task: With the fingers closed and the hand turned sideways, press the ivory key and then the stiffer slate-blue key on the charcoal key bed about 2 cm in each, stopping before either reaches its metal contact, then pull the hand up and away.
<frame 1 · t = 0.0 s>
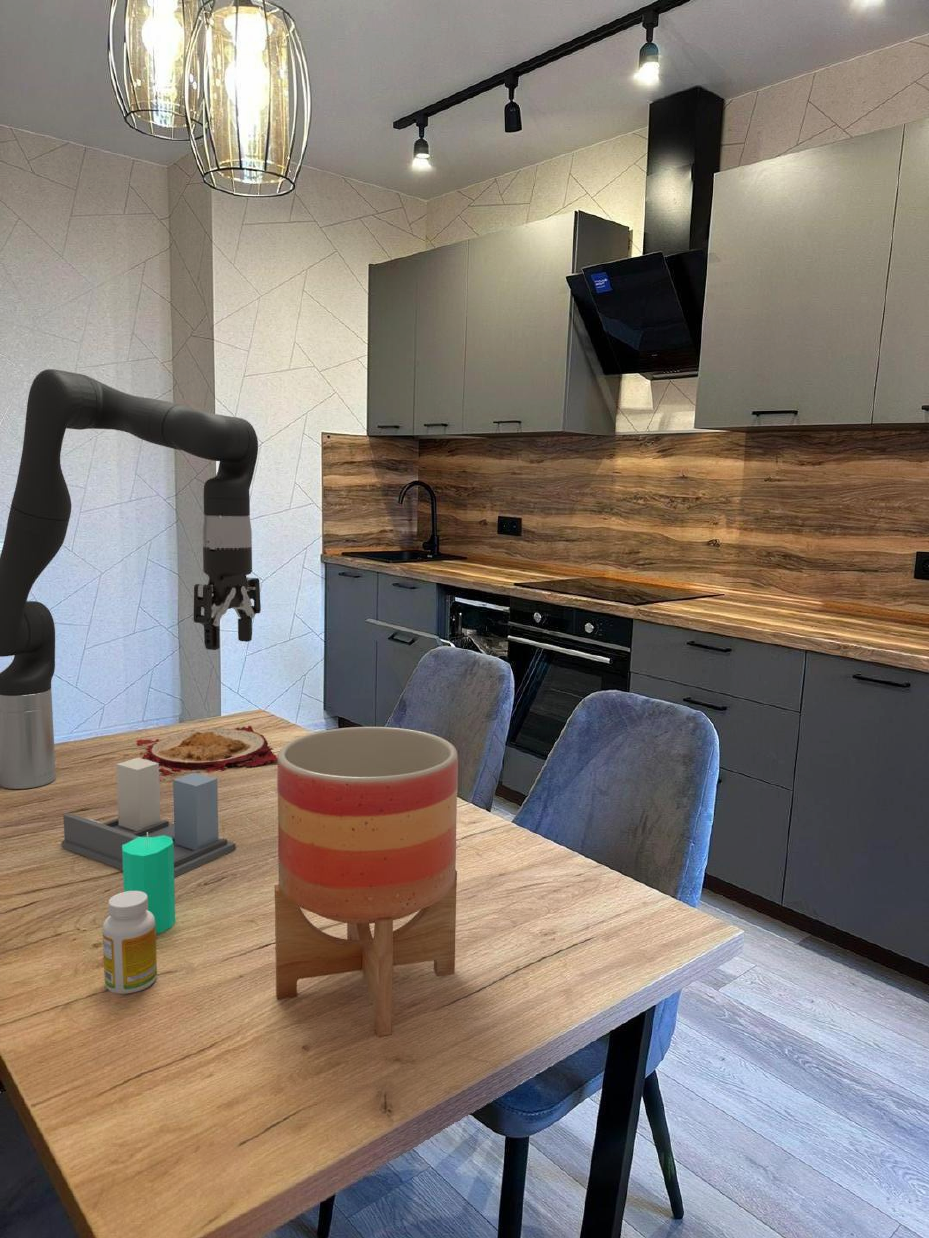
hand: (229, 645, 138), 29 cm above the table, tool pointing down, fingers open, 8 cm apart
plate with food: (205, 756, 177), on the table
slate blue key: (195, 811, 128), point 6 cm above the table, slide at 0.0 cm
ivory key: (138, 794, 135), point 6 cm above the table, slide at 0.0 cm
planter: (367, 984, 95), on the table
supplement bottle: (131, 982, 94), on the table
candle: (150, 924, 107), on the table
key bed: (148, 848, 129), on the table
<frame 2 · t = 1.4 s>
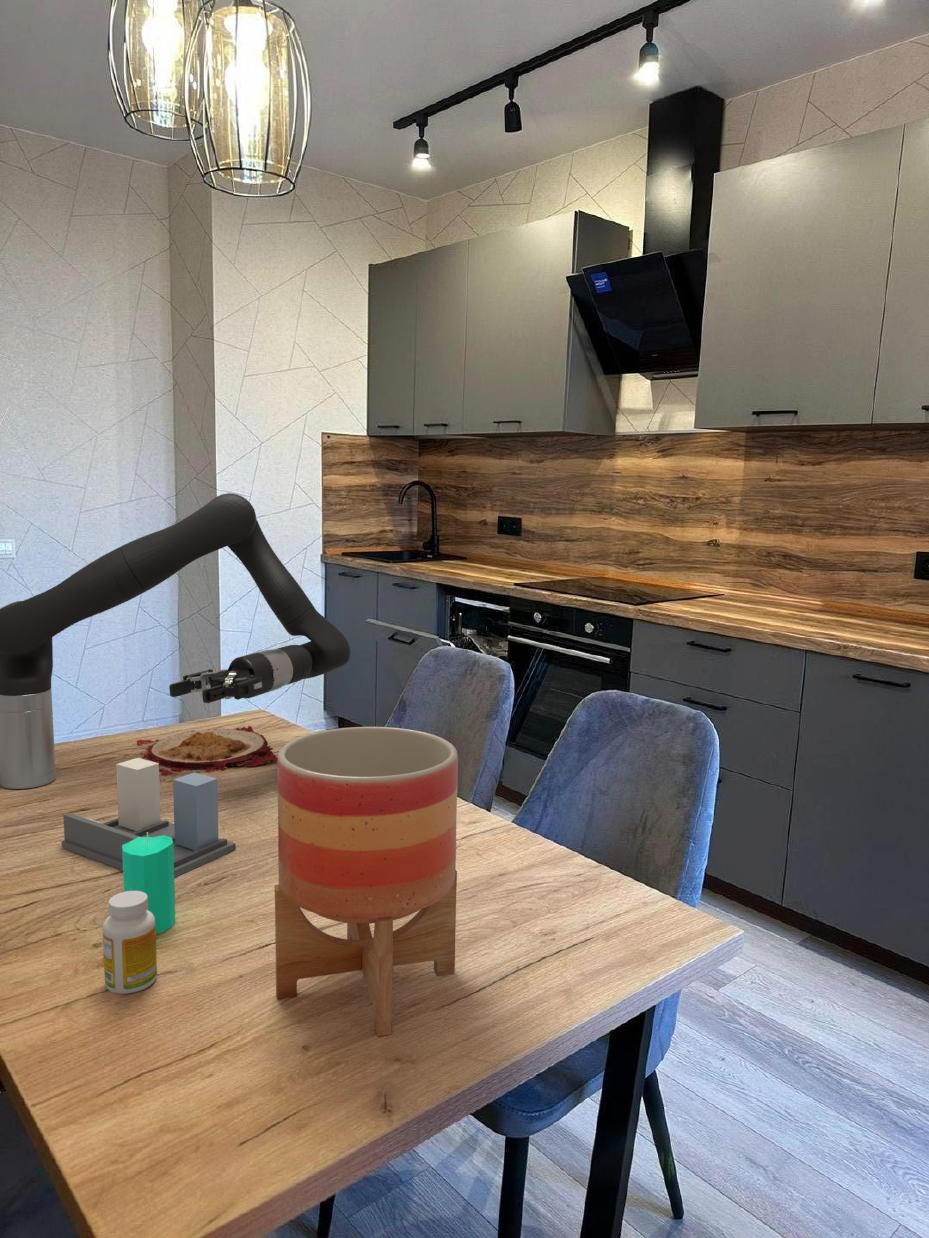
hand: (187, 694, 141), 20 cm above the table, tool horizontal, fingers open, 8 cm apart
nothing on the table moved.
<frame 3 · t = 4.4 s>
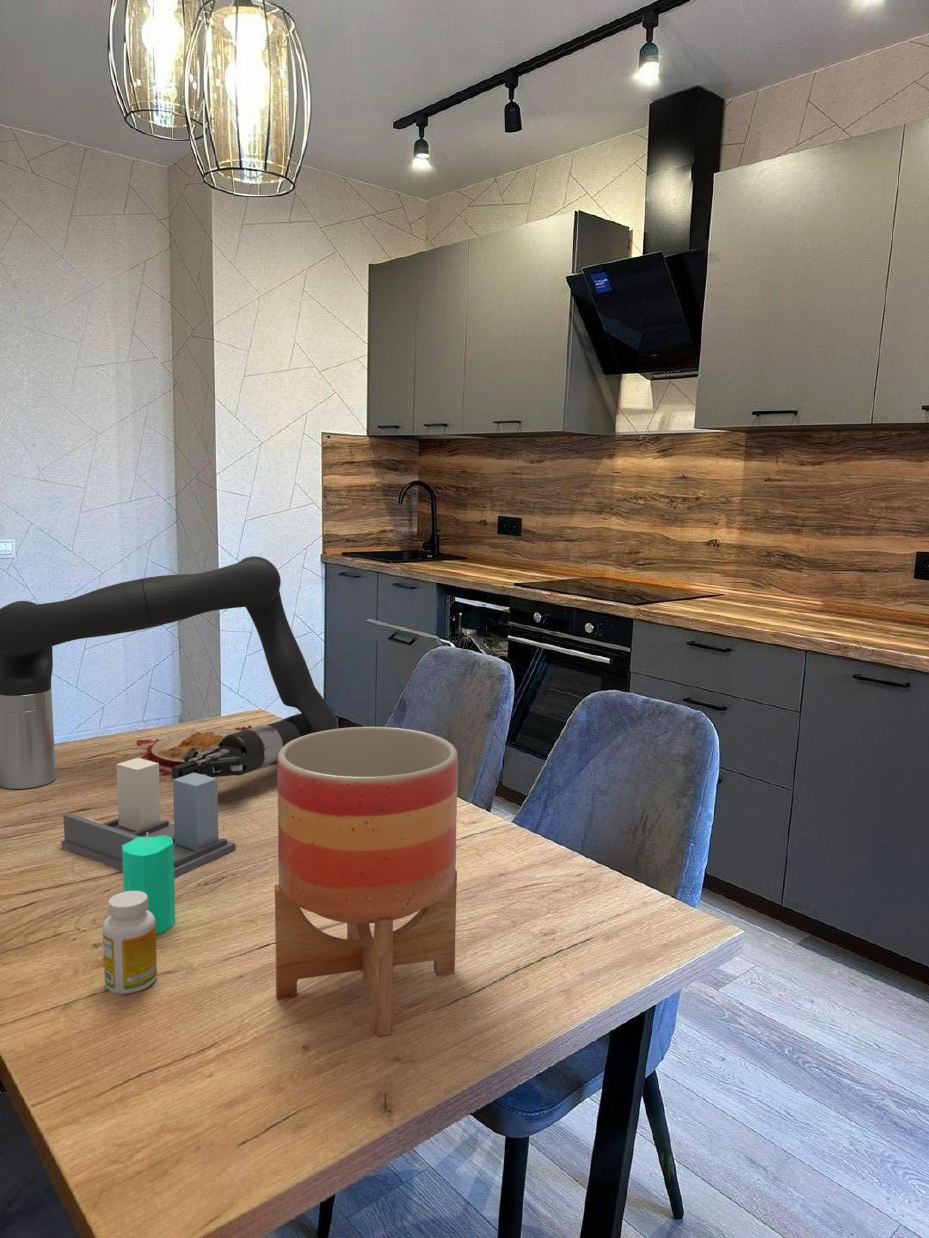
hand: (175, 774, 141), 7 cm above the table, tool horizontal, fingers closed
nothing on the table moved.
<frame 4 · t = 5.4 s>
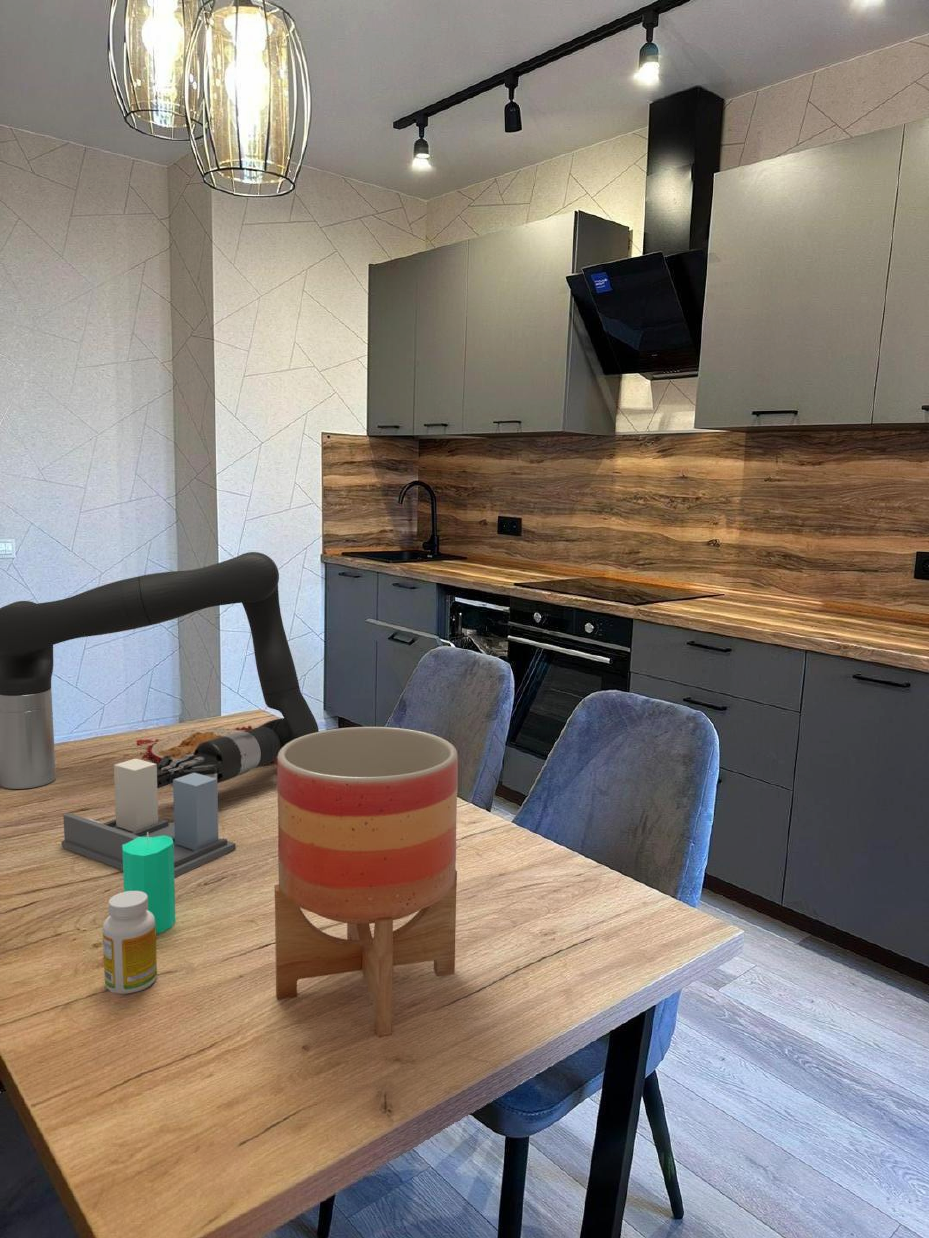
hand: (146, 783, 136), 7 cm above the table, tool horizontal, fingers closed
ivory key: (136, 795, 134), point 6 cm above the table, slide at 0.5 cm, touching gripper
everything else where it was.
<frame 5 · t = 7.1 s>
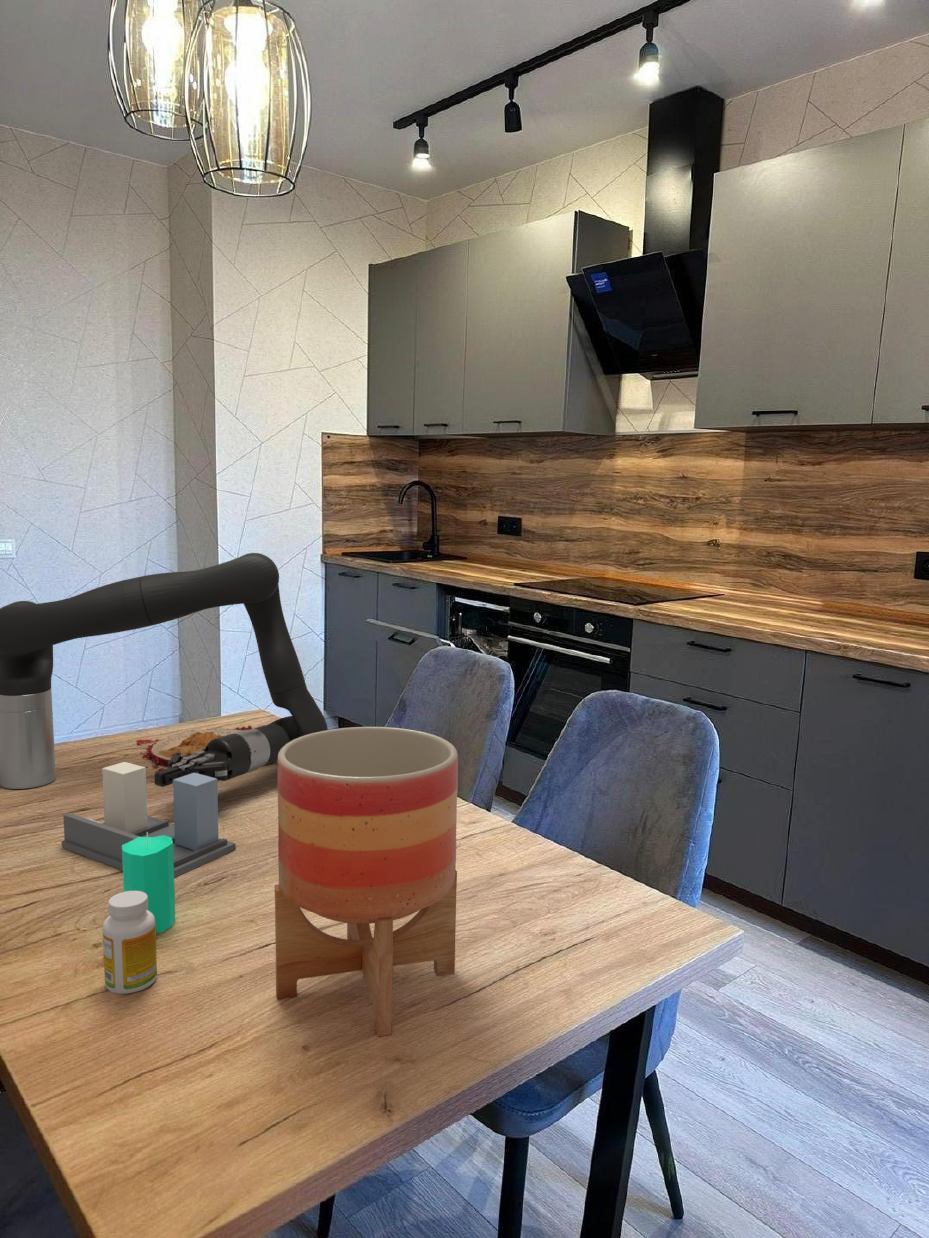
hand: (157, 780, 137), 8 cm above the table, tool horizontal, fingers closed
ivory key: (125, 798, 132), point 6 cm above the table, slide at 2.5 cm
everything else where it was.
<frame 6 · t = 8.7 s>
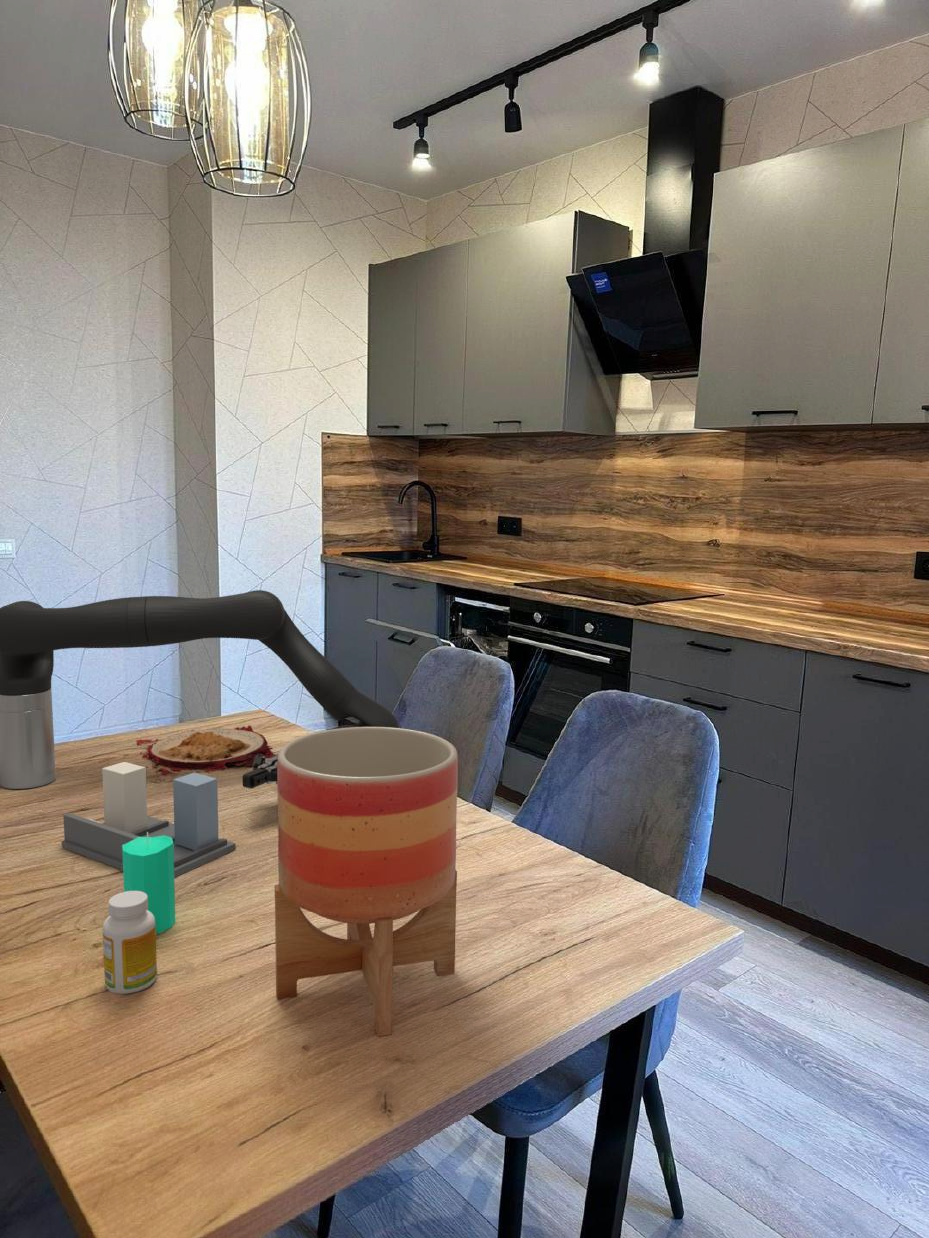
hand: (246, 781, 137), 8 cm above the table, tool horizontal, fingers closed
nothing on the table moved.
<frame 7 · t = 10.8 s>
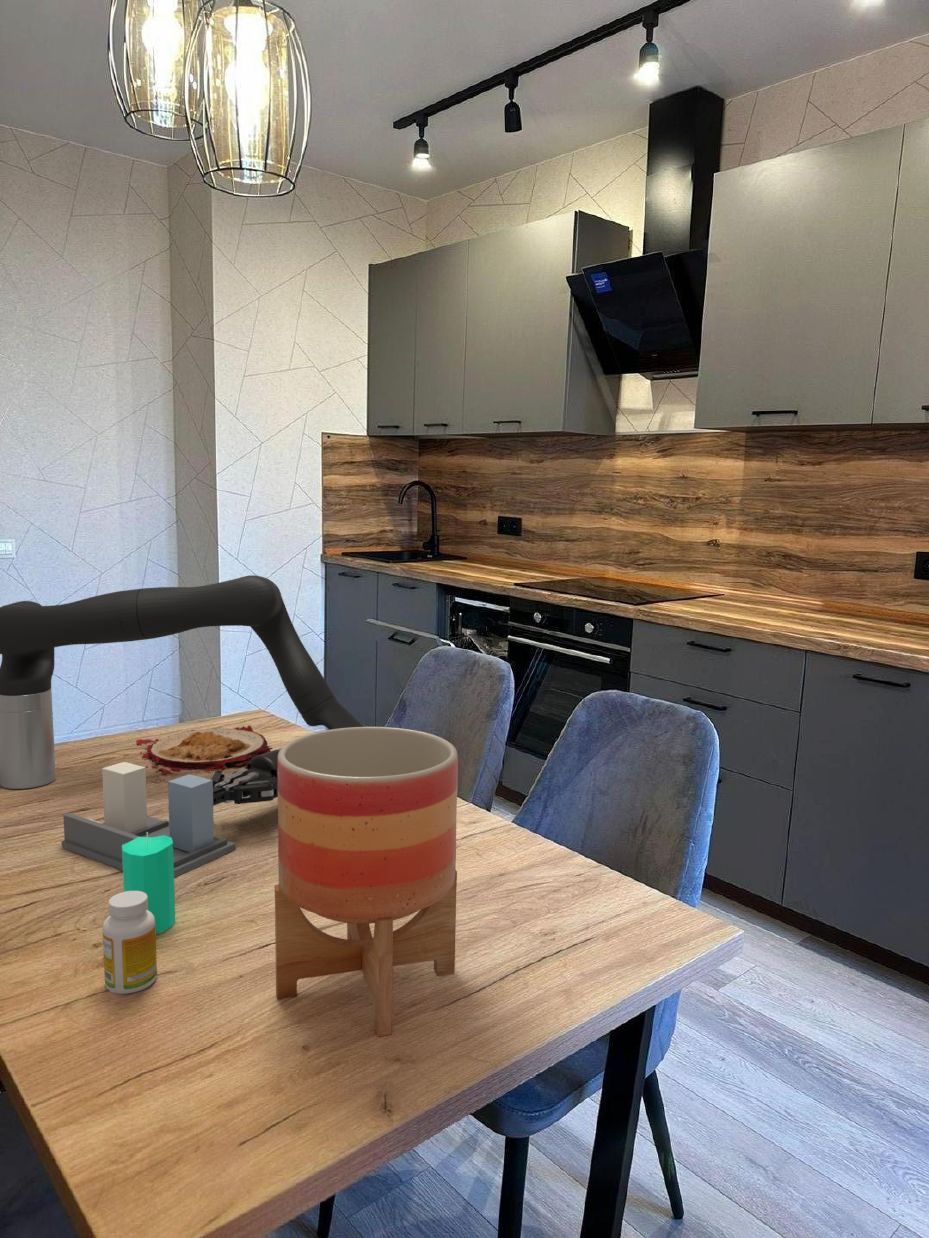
hand: (201, 801, 129), 7 cm above the table, tool horizontal, fingers closed
slate blue key: (191, 813, 127), point 6 cm above the table, slide at 0.9 cm, touching gripper
everything else where it was.
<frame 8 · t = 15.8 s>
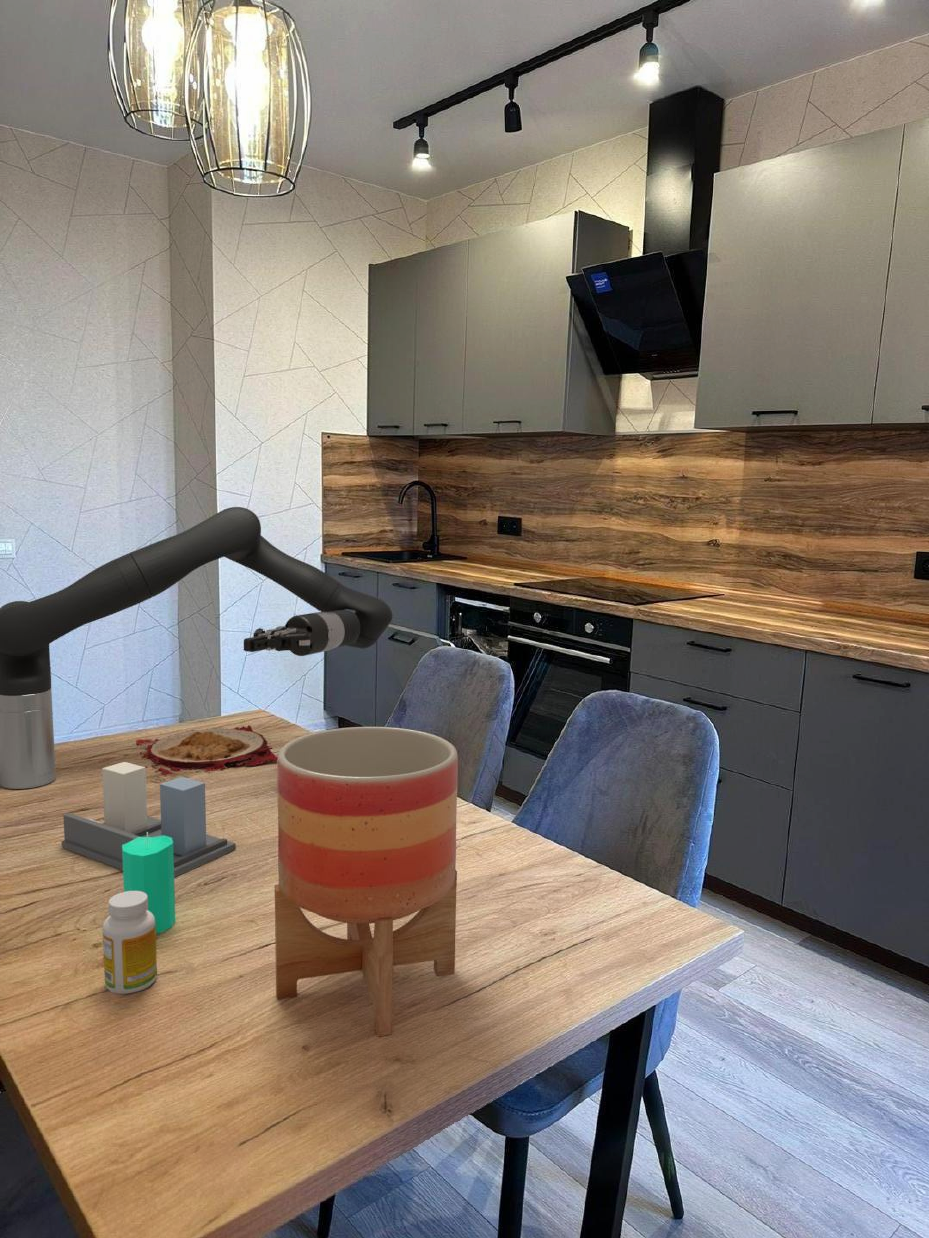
hand: (246, 645, 145), 28 cm above the table, tool horizontal, fingers closed
slate blue key: (183, 816, 126), point 6 cm above the table, slide at 2.4 cm
everything else where it was.
at the end: ivory key slide at 2.5 cm; slate blue key slide at 2.4 cm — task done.
